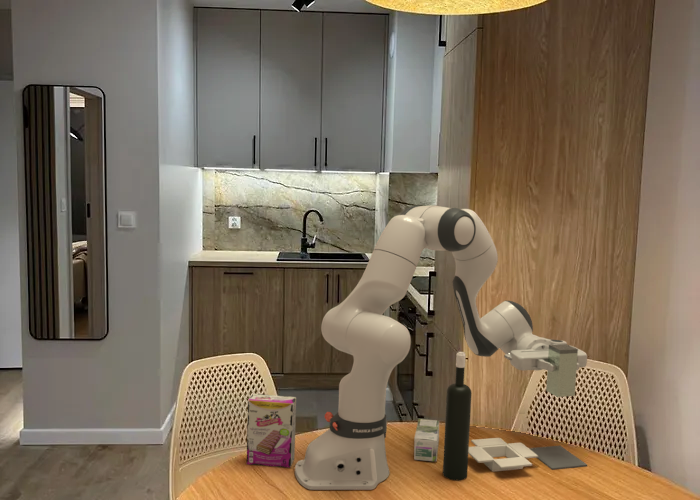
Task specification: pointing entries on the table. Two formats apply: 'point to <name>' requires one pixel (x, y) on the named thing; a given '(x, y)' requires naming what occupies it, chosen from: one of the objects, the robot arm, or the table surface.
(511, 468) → the carton
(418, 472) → the table surface
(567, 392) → the tea tin
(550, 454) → the mat
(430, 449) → the syrup box
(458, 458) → the wine bottle
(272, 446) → the candy bar box
